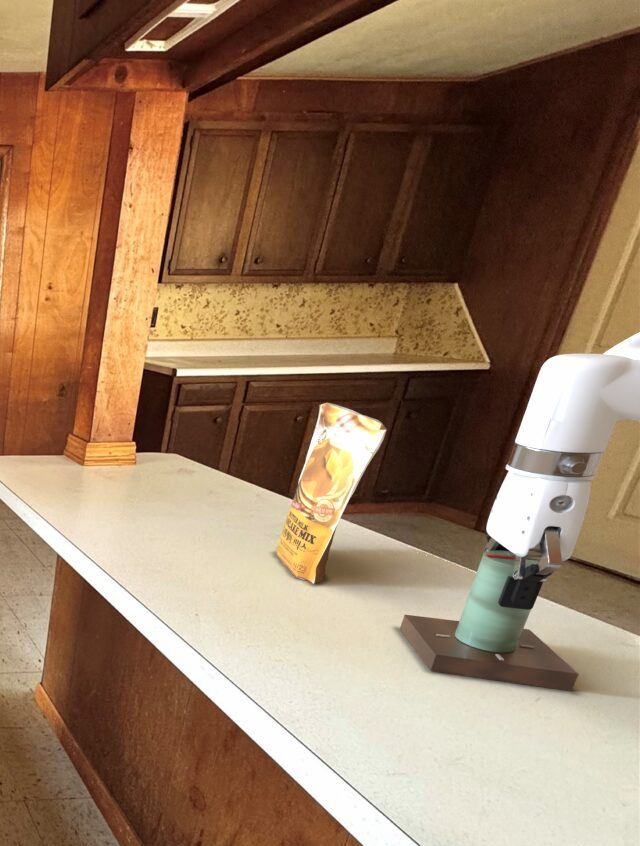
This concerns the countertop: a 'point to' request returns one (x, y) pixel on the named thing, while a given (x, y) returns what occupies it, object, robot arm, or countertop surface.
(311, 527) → the pancake mix bag
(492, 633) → the mint green cylinder
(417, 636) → the dark brown slab
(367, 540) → the countertop surface
